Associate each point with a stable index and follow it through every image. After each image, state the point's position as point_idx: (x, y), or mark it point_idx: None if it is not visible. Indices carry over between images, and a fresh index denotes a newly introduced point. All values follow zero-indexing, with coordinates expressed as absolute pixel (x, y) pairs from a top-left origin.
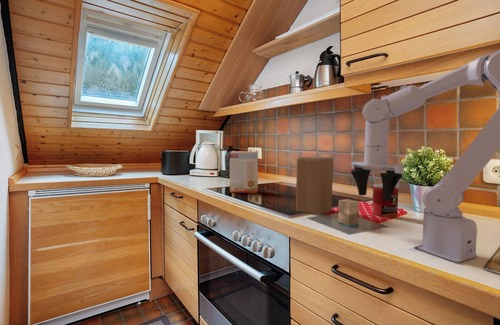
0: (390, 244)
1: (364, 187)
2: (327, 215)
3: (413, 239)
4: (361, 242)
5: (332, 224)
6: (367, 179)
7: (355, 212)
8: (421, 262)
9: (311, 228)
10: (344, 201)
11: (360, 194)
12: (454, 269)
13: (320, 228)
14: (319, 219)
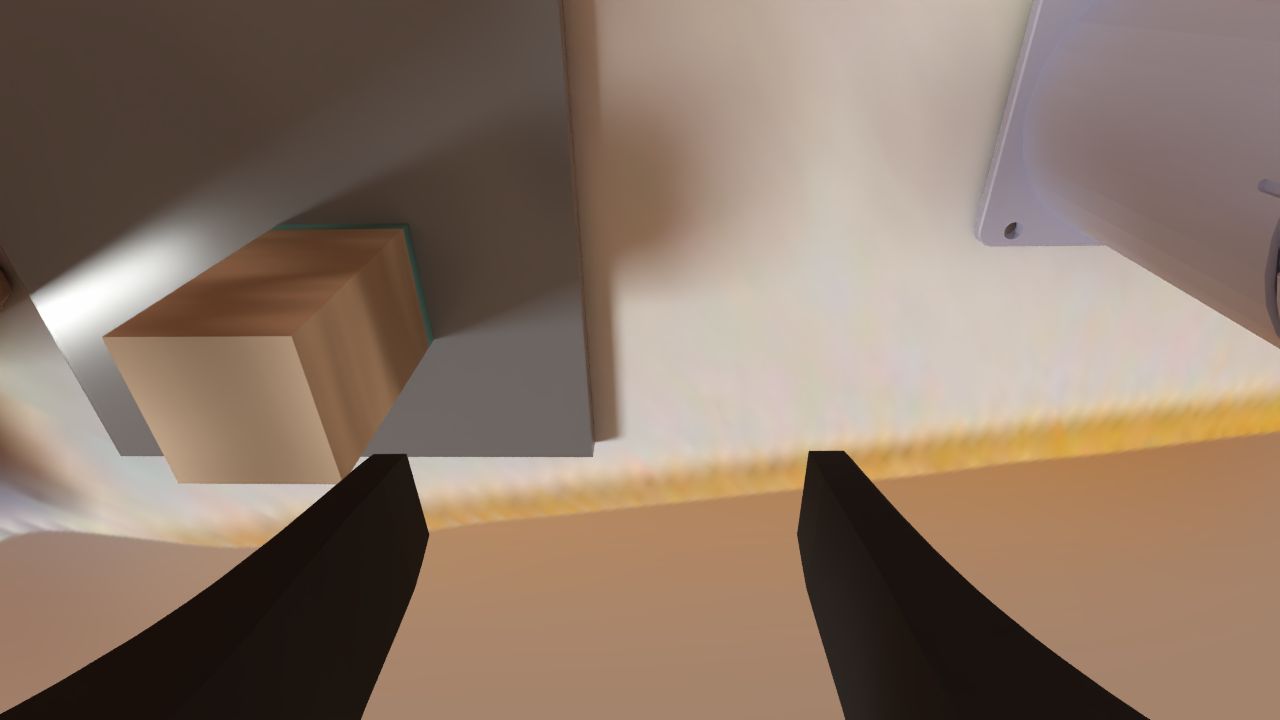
0: (827, 313)
1: (360, 574)
2: (24, 248)
3: (879, 15)
4: (699, 441)
5: None
6: (243, 658)
7: (366, 323)
8: (1088, 399)
9: None
10: (256, 475)
11: (423, 550)
12: None
13: None
14: None
